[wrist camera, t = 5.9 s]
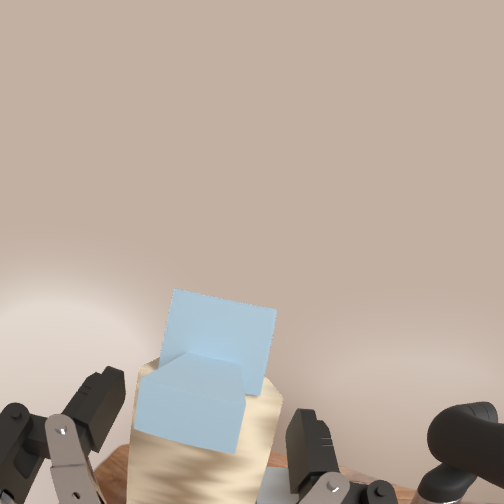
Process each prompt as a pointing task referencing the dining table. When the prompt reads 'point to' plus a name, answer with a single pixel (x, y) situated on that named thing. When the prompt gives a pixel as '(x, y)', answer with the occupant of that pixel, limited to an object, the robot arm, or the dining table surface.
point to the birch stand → (210, 461)
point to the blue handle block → (205, 371)
